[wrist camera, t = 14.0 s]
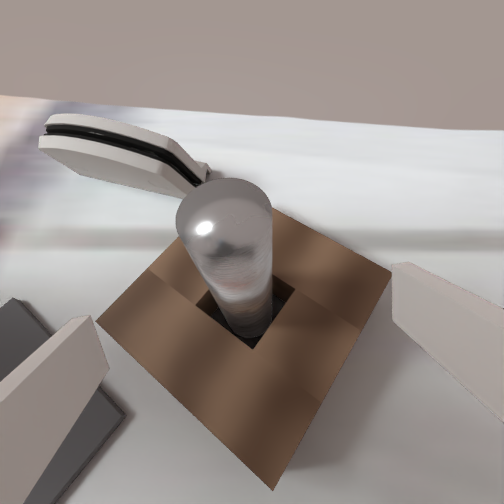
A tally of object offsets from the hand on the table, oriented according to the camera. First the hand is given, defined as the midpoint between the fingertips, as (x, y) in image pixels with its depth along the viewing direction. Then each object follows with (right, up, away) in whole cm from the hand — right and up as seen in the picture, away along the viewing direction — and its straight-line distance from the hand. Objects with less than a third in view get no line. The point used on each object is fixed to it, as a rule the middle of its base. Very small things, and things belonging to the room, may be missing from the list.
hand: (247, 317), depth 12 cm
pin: (0, -3, +12) cm, 13 cm away
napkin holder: (-13, +11, +22) cm, 28 cm away
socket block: (0, -3, +13) cm, 13 cm away
